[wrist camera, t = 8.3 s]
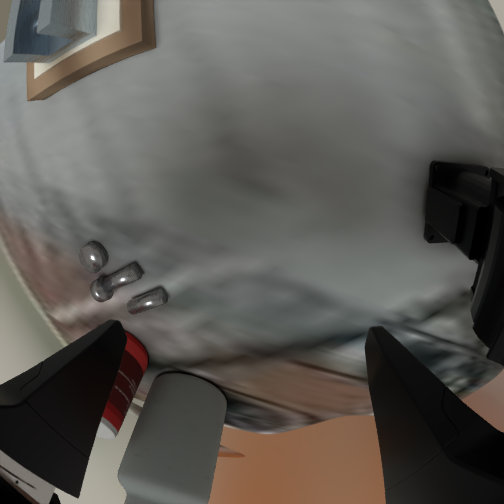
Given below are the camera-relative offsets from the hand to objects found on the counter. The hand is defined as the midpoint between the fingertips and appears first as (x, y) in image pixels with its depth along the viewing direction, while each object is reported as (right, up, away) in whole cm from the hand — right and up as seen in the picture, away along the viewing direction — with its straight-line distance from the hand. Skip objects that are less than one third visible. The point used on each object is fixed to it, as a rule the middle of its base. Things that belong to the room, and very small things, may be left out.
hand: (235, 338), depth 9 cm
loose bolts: (-11, +1, +14) cm, 18 cm away
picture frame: (-13, +22, +3) cm, 26 cm away
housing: (-13, +21, +1) cm, 25 cm away
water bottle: (-7, -15, +22) cm, 28 cm away
